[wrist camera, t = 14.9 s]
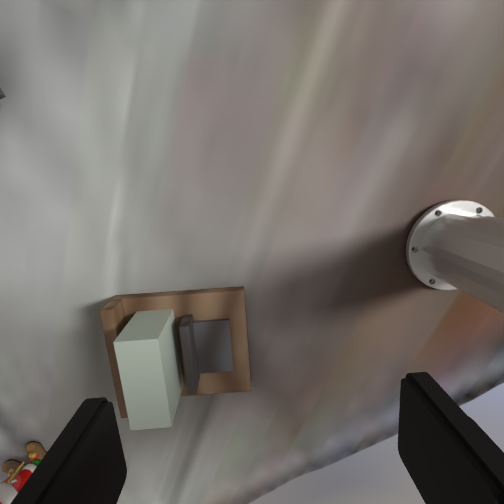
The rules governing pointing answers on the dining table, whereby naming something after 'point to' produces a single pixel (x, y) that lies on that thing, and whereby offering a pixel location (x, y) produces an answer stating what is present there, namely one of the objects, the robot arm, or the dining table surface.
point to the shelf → (191, 337)
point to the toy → (1, 94)
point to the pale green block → (150, 369)
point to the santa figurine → (19, 472)
